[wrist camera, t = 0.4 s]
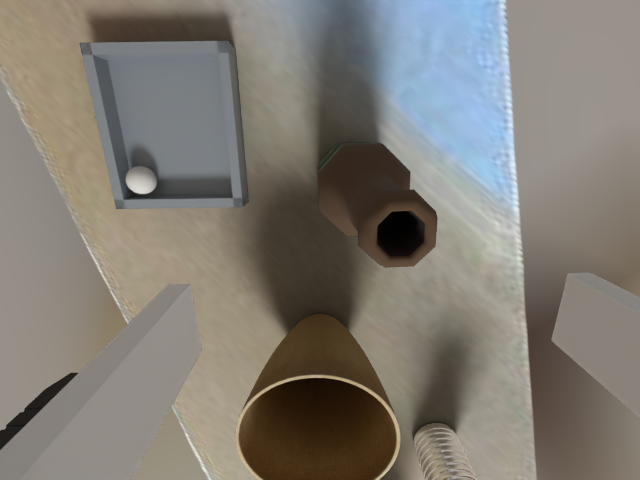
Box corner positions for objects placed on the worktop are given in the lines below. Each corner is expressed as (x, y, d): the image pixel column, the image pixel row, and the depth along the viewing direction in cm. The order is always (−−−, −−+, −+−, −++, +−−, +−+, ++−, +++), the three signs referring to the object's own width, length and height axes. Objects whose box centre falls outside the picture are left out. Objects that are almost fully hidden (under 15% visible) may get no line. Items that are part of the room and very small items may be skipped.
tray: (100, 51, 32) (79, 42, 29) (235, 49, 32) (227, 40, 29) (131, 203, 37) (116, 208, 34) (248, 201, 37) (242, 207, 34)
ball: (133, 165, 35) (116, 167, 32) (159, 165, 35) (145, 167, 32) (138, 191, 36) (122, 196, 33) (164, 191, 36) (150, 196, 33)
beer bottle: (304, 158, 35) (279, 191, 13) (367, 127, 34) (462, 104, 12) (332, 217, 38) (354, 338, 15) (392, 190, 37) (513, 274, 14)
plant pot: (350, 272, 40) (370, 354, 25) (385, 361, 44) (419, 477, 29) (246, 309, 41) (204, 407, 26) (289, 391, 46) (274, 516, 31)
